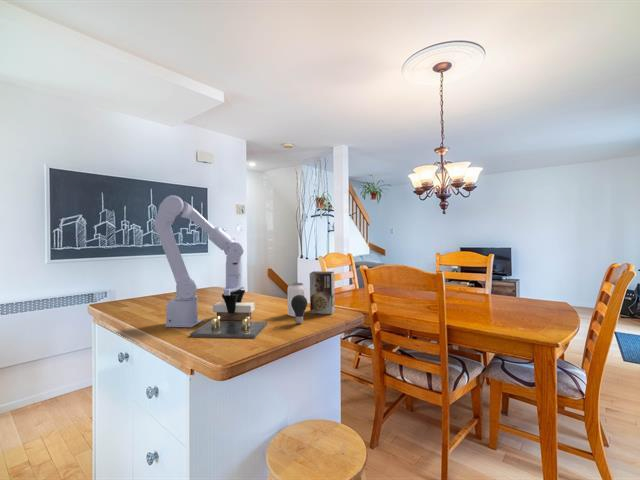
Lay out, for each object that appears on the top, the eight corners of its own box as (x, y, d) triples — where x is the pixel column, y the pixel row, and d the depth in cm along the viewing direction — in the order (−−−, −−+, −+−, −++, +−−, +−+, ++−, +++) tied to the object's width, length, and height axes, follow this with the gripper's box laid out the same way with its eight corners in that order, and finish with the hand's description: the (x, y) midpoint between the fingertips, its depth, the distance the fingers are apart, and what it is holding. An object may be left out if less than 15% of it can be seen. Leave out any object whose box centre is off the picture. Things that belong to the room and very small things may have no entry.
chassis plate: (190, 336, 92) (190, 323, 92) (210, 323, 106) (210, 312, 106) (255, 338, 90) (255, 324, 90) (266, 324, 104) (266, 313, 104)
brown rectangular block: (216, 319, 111) (216, 311, 111) (219, 317, 114) (219, 309, 114) (248, 320, 110) (248, 311, 110) (251, 317, 113) (251, 309, 113)
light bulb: (292, 326, 102) (292, 296, 102) (290, 321, 108) (290, 293, 108) (308, 325, 103) (308, 296, 103) (306, 321, 109) (305, 293, 109)
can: (301, 317, 114) (301, 285, 114) (285, 316, 115) (285, 284, 115) (306, 313, 120) (305, 282, 120) (290, 312, 121) (290, 282, 121)
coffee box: (335, 310, 124) (334, 271, 124) (332, 314, 118) (332, 273, 118) (313, 309, 126) (313, 270, 126) (309, 313, 120) (309, 272, 120)
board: (212, 312, 110) (212, 305, 110) (218, 308, 115) (218, 302, 115) (250, 312, 109) (250, 305, 109) (254, 309, 114) (254, 302, 114)
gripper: (237, 277, 105) (237, 316, 105) (250, 272, 119) (250, 307, 119) (217, 277, 105) (218, 316, 105) (232, 272, 120) (232, 306, 120)
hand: (234, 311), depth 112 cm, fingers closed on board, 5 cm apart
